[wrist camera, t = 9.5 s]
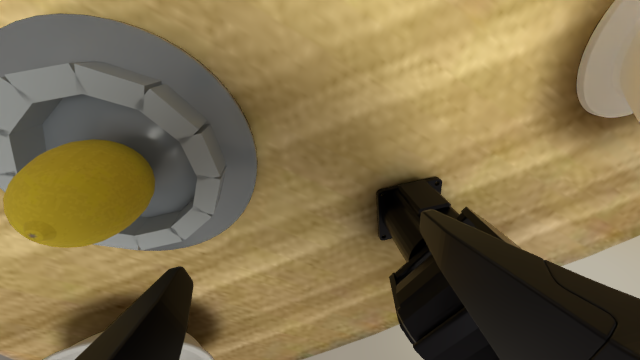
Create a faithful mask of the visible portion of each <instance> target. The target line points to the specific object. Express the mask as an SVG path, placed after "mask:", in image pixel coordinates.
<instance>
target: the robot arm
mask: <svg viewBox="0 0 640 360" xmlns="http://www.w3.org/2000/svg"><path fill="white" fill-rule="evenodd" d="M436 182H437V183H436ZM441 187H442V180H441V179H439V178H438V177H435V178H430V179H425V180H419V181H415V182H410V183H406V184H401V185H398V186H394V187H389V188H385V189H381V190H379V191H378V192H377V217H378V236H379V238H380V239H381V240H387V239H391V238H393V240H394V242H395V243H396V245H397V247H398V248H399V250H400V252H401V253H402V255H403V257H404V258H405V260H406V262H407V263H406V264H405V265H403V266H402V267H401V268H400V269H399V270H398V271H397V272H396V273H393V274H392V275H391V276H390V277H389V278H390V283H391V288H392V293H393V298H394V303H395V308H396V313H397V317H398V321H399V323H400V327H401V329H402V330H403V331H404V333H405V335H406V336H407V338H408V339H409V340H410V342H411V343H412V344H413V348H414V349H415V351H416V352H417V353H418V354H419V355H420V356H421V357H422V358H423V359H424V360H640V299H639V298H636V297H634V296H631V295H629V294H626V293H624V292H621V291H618V290H616V289H613V288H611V287H608V286H606V285H603V284H601V283H598V282H595V281H593V280H591V279H588V278H586V277H584V276H581V275H579V274H577V273H574V272H572V271H570V270H567V269H565V268H563V267H561V266H558V265H556V264H554V263H552V262H549V261H547V260H543V259H542V258H540V257H538V256H536V255H534V254H531V253H529V252H527V251H525V250H522V249H521V248H520V247H519V246H517V245H516V244H515V243H514V242H512V241H511V240H510V239H509V238H508V237H506V236H505V235H504V234H503V233H501V232H500V231H499V230H498V229H496V228H495V227H494V226H492V225H491V224H490V223H488V222H487V221H485V220H484V219H483V218H481V217H480V216H479V215H477V214H476V213H474V212H473V211H472V210H470V209H469V208H468V207H465V208H464V209H463V210H462V211H461V212H462V213H461V214H460V215H459V214H458V213H457V212H456V211H455V210H454V209H453V208H452V207H451V204H450V203H449V202H448V201H447V200H446V199H445V198H444V197H443V196H442V195H441ZM383 193H384V194H383ZM381 194H383V195H382V196H381ZM383 235H384V236H383ZM192 292H193V281H192V279H191V277H190V276H189V275H188V273H187V272H186V270H185V269H184V268H183V267H175V268H171V269H169V270H168V271H166V272H165V273H164V274H163V275H162V276H161V277H160V278H159V279H158V280H157V281H156V282H155V283H154V284H153V285H152V286H151V287H150V288H149V289H148V290H147V291H146V292H145V293H144V294H142V295H141V296H140V297H139V298H138V299H137V300H136V301H135V302H134V303H133V304H132V305H131V306H130V307H129V308H128V309H127V310H126V311H125V312H124V313H123V314H122V315H121V316H119V317H118V318H117V319H116V320H115V321H114V322H113V323H112V324H111V325H110V326H109V327H108V328H107V329H106V330H105V331H104V332H103V333H102V334H101V335H100V336H99V337H98V338H96V339H95V340H94V341H93V342H92V343H91V344H90V345H89V346H88V347H87V348H86V349H85V350H84V351H83V352H82V353H81V354H80V355H79V356H78V357H77V358H76V359H75V360H179V359H180V355H181V351H182V347H183V343H184V339H185V335H186V331H187V325H188V319H189V312H190V306H191V299H192Z"/></svg>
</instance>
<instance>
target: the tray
mask: <svg viewBox="0 0 640 360" xmlns="http://www.w3.org/2000/svg"><path fill="white" fill-rule="evenodd" d="M91 139H98V140H108V141H113V142H117V143H120V144H124V145H126V146H128V147H130V148H132V149H134V150H135V151H137V152H138V153H139V154H141V155H142V156H143V157H144V158H145V159H146V161H147V162H148V163H149V165H150V166H151V168H152V170H153V174H154V177H155V190H154V194H153V196H152V198H151V201H150V203H149V205H148V206H147V208H146V209H145V211H144V212H143V213H142V214H141V215H140V216H139V217H138V218H137V219H136V220H135V221H134V222H133V223H132V224H131V225H130V226H128V227H127V228H125V229H124V230H122V231H121V232H119V233H117V234H116V235H114V236H112V237H110V238H108V239H106V240H104V241H102V242H98V243H95V244H94V245H101V246H109V247H117V248H124V249H132V250H144V251H161V250H173V249H179V248H185V247H189V246H192V245H196V244H199V243H202V242H204V241H207V240H209V239H211V238H213V237H215V236H217V235H218V234H220V233H222V232H223V231H224V230H226V229H227V228H229V227H230V226H231V225H232V224H233V223H234V222H235V221H236V220H237V219H238V218H239V217H240V215H241V214H242V213H243V211H244V210H245V208H246V206H247V205H248V203H249V201H250V199H251V196H252V193H253V190H254V186H255V181H256V176H257V152H256V146H255V142H254V138H253V134H252V131H251V129H250V126H249V124H248V121H247V119H246V117H245V115H244V114H243V112H242V110H241V108H240V106H239V105H238V103H237V102H236V100H235V99H234V98H233V96H232V95H231V93H230V92H229V91H228V89H227V88H226V87H225V86H224V85H223V84H222V83H221V82H220V81H219V79H218V78H217V77H216V76H215V75H214V74H213V73H212V72H210V71H209V70H208V69H207V68H206V67H205V66H204V65H203V64H202V63H200V62H199V61H198V60H197V59H195V58H194V57H192V56H191V55H190V54H188V53H187V52H185V51H184V50H183V49H181V48H179V47H178V46H176V45H174V44H172V43H171V42H169V41H167V40H166V39H164V38H162V37H160V36H158V35H155V34H153V33H151V32H148V31H146V30H144V29H142V28H139V27H136V26H132V25H129V24H126V23H123V22H120V21H116V20H110V19H105V18H99V17H94V16H88V15H77V14H51V15H39V16H34V17H30V18H26V19H23V20H19V21H15V22H13V23H11V24H9V25H7V26H5V27H3V28H1V29H0V188H1V189H2V190H3V191H4V192H5V191H6V189H7V187H8V184H9V183H10V181H11V180H12V178H13V177H14V176H15V175H16V174H17V173H18V172H19V171H20V170H21V169H22V168H24V167H25V166H26V165H27V164H28V163H29V162H30V161H32V160H33V159H34V158H36V157H37V156H39V155H40V154H42V153H44V152H46V151H48V150H51V149H53V148H56V147H58V146H61V145H63V144H66V143H70V142H74V141H82V140H91Z"/></svg>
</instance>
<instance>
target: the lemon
mask: <svg viewBox="0 0 640 360" xmlns="http://www.w3.org/2000/svg"><path fill="white" fill-rule="evenodd" d="M154 190H155V177H154V174H153V170H152V168H151V166H150V165H149V163H148V162H147V161H146V159H145V158H144V157H143V156H142V155H141V154H139V153H138V152H137V151H135V150H134V149H132V148H130V147H128V146H126V145H124V144H120V143H117V142H113V141H108V140H98V139H91V140H82V141H74V142H70V143H66V144H63V145H61V146H58V147H56V148H53V149H51V150H48V151H46V152H44V153H42V154H40V155H39V156H37V157H36V158H34V159H33V160H32V161H30V162H29V163H28V164H27V165H26V166H25V167H24V168H22V169H21V170H20V171H19V172H18V173H17V174H16V175H15V176H14V177H13V178H12V180H11V181H10V183H9V184H8V187H7V189H6V191H5V194H4V198H3V202H4V212H5V214H6V216H7V218H8V221H9V223H10V224H11V225H12V226H13V227H14V229H15V230H16V231H18V232H19V233H20V234H21V235H23V236H24V237H26V238H28V239H29V240H32V241H34V242H37V243H40V244H44V245H48V246H52V247H66V248H69V247H81V246H87V245H91V244H95V243H98V242H102V241H104V240H106V239H108V238H110V237H112V236H114V235H116V234H117V233H119V232H121V231H122V230H124V229H125V228H127V227H128V226H130V225H131V224H132V223H133V222H134V221H135V220H136V219H137V218H138V217H139V216H140V215H141V214H142V213H143V212H144V211H145V209H146V208H147V206H148V205H149V203H150V201H151V198H152V196H153V194H154Z"/></svg>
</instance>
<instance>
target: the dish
mask: <svg viewBox="0 0 640 360" xmlns="http://www.w3.org/2000/svg"><path fill="white" fill-rule="evenodd" d="M103 332H104V331H103ZM103 332H101V333H98V334H96V335H93V336H91V337H89V338H86V339H84V340H82V341H80V342H78V343H76V344H74V345H72V346H71V347H69V348H66V349H63V350H61V351H58V352H56V353H54V354H52V355H49V356H48V357H46V358H44V359H43V360H75V359H76V358H77V357H78V356H79V355H80V354H81V353H82V352H83V351H84V350H85V349H86V348H87V347H88V346H89V345H90V344H91V343H92V342H93V341H94V340H95V339H96V338H98V337H99V336H100V335H101V334H102V333H103ZM179 360H214V359H213V357H212V356H211V355H210V354H209V353H208V352H207V351H206V350H204V349H203V348H202V347H201V345H200V344H199V343H198V342H197V341H196V340H195V339H194V338H193V337H192V336H191V335H189V334H188V333H186V335H185V339H184V343H183V347H182V351H181V355H180V359H179Z"/></svg>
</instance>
